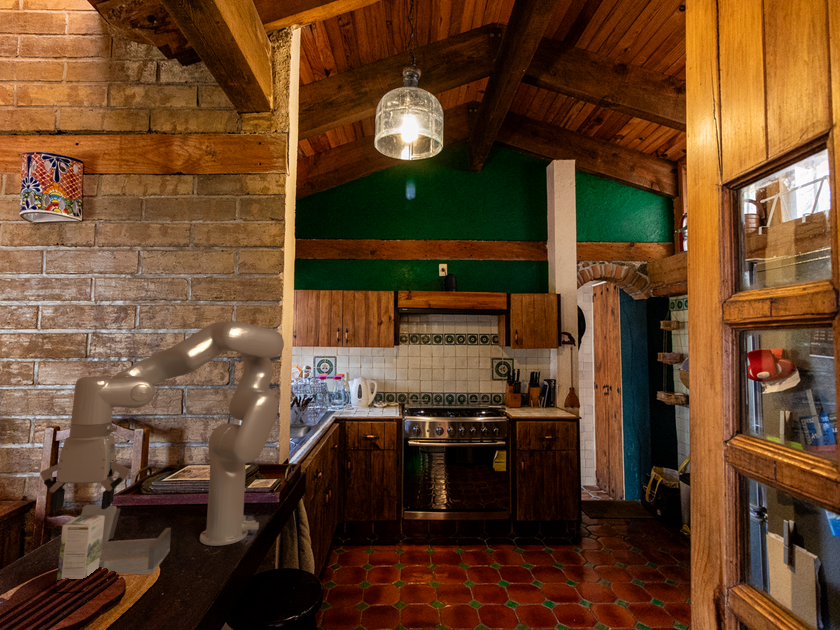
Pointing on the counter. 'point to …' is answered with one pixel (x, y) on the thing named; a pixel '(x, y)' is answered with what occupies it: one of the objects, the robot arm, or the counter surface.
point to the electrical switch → (110, 515)
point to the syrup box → (80, 547)
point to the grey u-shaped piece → (135, 554)
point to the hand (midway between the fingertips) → (82, 508)
